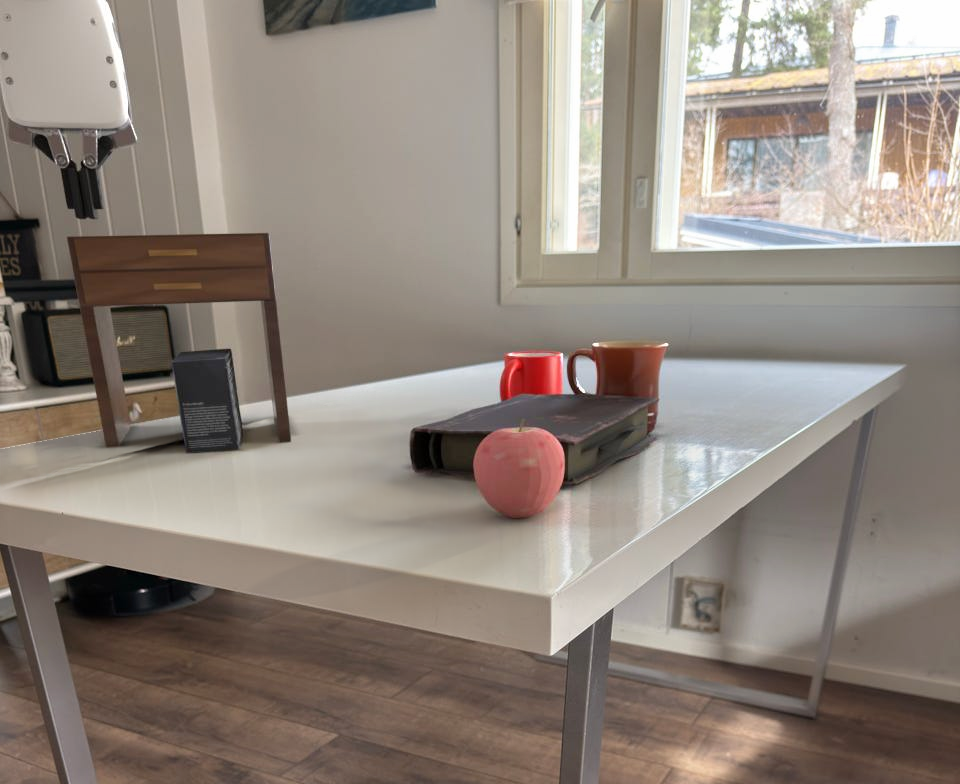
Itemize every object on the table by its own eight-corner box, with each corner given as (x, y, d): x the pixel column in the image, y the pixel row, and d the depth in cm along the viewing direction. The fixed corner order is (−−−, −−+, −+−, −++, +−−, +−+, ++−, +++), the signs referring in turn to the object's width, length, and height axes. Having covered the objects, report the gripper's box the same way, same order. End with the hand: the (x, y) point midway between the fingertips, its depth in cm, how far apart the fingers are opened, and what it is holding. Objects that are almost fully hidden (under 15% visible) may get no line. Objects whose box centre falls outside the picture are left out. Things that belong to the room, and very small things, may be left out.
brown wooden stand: (291, 441, 108) (269, 232, 99) (107, 454, 103) (66, 236, 94) (285, 423, 120) (264, 236, 111) (120, 433, 116) (85, 239, 107)
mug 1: (479, 420, 118) (477, 358, 115) (522, 407, 128) (521, 350, 125) (531, 424, 115) (531, 361, 112) (571, 410, 124) (572, 351, 121)
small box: (191, 437, 112) (178, 350, 108) (244, 434, 113) (233, 347, 109) (183, 453, 102) (168, 358, 98) (241, 450, 104) (228, 355, 99)
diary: (408, 475, 89) (405, 424, 87) (516, 432, 110) (516, 390, 108) (581, 492, 81) (582, 436, 79) (663, 443, 101) (666, 397, 99)
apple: (575, 507, 76) (576, 412, 73) (550, 530, 70) (550, 427, 67) (493, 501, 79) (492, 409, 76) (462, 523, 73) (459, 424, 69)
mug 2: (671, 428, 109) (676, 341, 105) (650, 441, 102) (654, 348, 98) (579, 423, 115) (581, 339, 111) (553, 435, 107) (554, 346, 103)
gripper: (145, -5, 80) (174, 220, 87) (-38, -15, 77) (8, 220, 84) (137, -30, 73) (169, 217, 81) (-64, -42, 70) (-11, 216, 77)
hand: (87, 218), depth 82 cm, fingers closed
